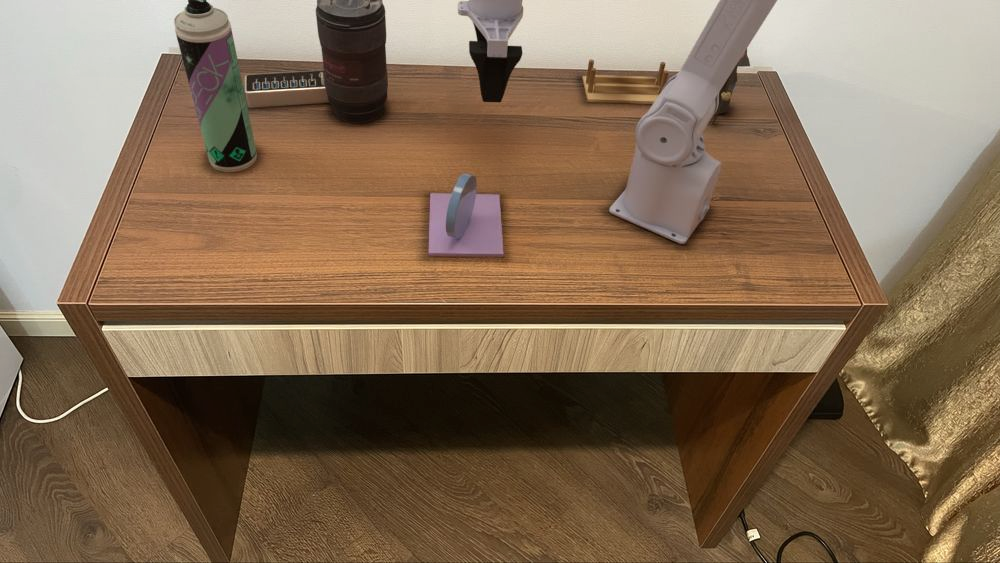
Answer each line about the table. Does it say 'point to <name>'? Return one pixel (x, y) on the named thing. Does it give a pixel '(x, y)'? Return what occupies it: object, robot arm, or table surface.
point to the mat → (479, 233)
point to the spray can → (216, 85)
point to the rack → (623, 87)
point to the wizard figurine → (730, 86)
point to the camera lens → (354, 57)
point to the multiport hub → (285, 89)
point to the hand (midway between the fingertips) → (490, 82)
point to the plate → (461, 205)
